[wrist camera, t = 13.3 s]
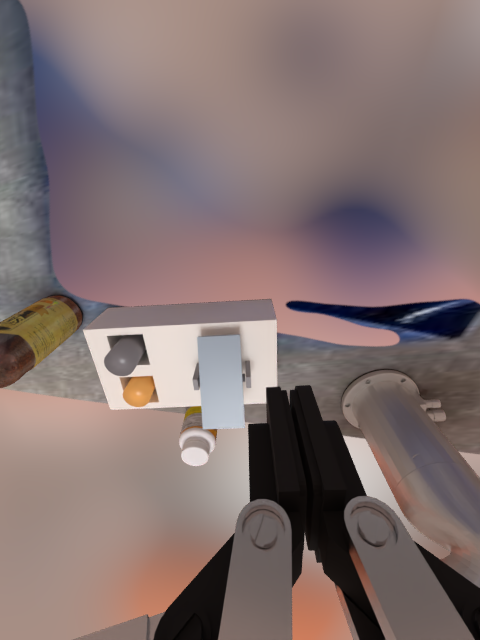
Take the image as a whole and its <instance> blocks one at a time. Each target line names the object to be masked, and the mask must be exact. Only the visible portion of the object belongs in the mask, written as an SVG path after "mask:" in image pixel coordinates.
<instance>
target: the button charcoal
mask: <svg viewBox="0 0 480 640" xmlns="http://www.w3.org/2000/svg"><path fill="white" fill-rule="evenodd" d="M145 351H146V346H145V342H144V338H143V334H134V335H122V337H121V338H120V339H119V340H118V342H117V343H116V344H115V345H114V346H113V348H112V349H111V350H110V351H109V352H108V354H107V355H106V356H105V358H104V365H105V367H106V368H107V370H108V371H109V372H111V373H112V374H114V375H117V376H128V375H130V374H131V373H132V372H133V371H134V369H135V367H136V366H137V364H138V363H139V361H140V359H141V358H142V356H143V354H144V353H145Z"/></svg>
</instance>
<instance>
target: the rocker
mask: <svg viewBox="0 0 480 640" xmlns="http://www.w3.org/2000/svg"><path fill="white" fill-rule="evenodd" d="M197 343H198V360H199V376H200V378H199V381H200V392H201V408H202V425H203V429H224V428H245V414H244V395H243V382H245V374H242V358H241V340H240V334H230V335H211V336H198V337H197Z"/></svg>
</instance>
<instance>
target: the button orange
mask: <svg viewBox="0 0 480 640" xmlns="http://www.w3.org/2000/svg"><path fill="white" fill-rule="evenodd" d="M154 389H155V383H154V379H153V376H138V377H132V378H131V380H130V381H129V383H128V385H127V386H126V388H125V390H124V391H123V398H124V400H125V401H126V403H128V404H129V405H131V406H134V407H143V406H145V405H147V404H148V403H149V401H150V398H151V396H152V394H153V392H154Z"/></svg>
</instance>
